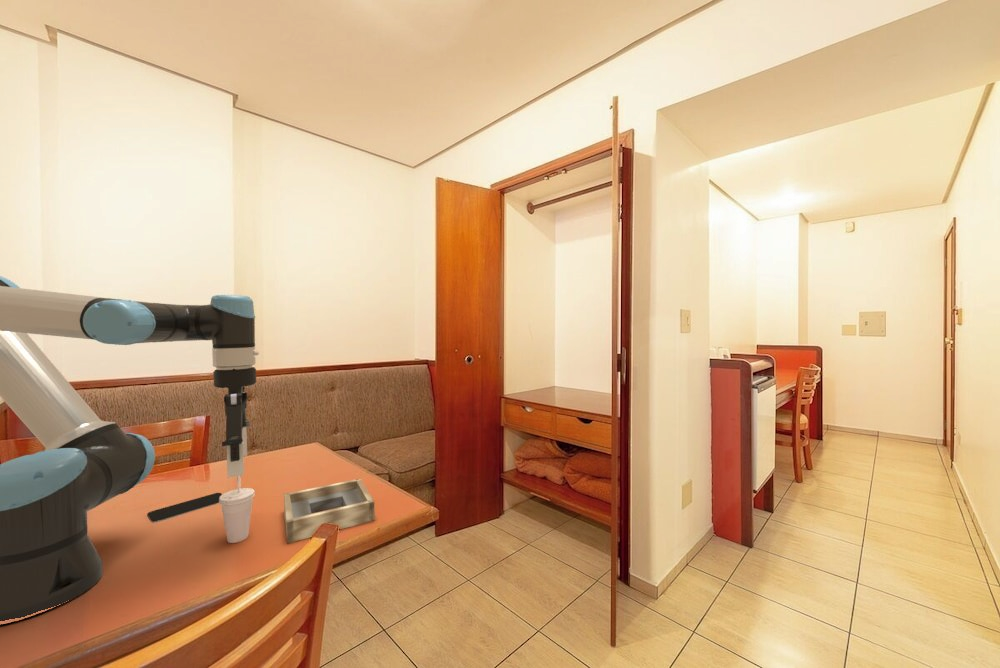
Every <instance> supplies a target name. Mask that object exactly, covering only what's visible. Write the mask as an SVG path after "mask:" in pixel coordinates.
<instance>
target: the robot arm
mask: <svg viewBox="0 0 1000 668" xmlns="http://www.w3.org/2000/svg"><path fill="white" fill-rule="evenodd" d="M255 320H256V316H255V309H254V301H253V299H252V298H251V297H250V296H247V295H241V294H240V295H239V294H216V295H213V296H211V298H210V303H209V304H201V305H198V304H173V303H172V304H171V303H161V302H160V303H159V302H146V301H136V300H130V299H129V300H128V299H123V298H122V299H120V298H117V299H116V298H109V297H108V298H107V297H99V296H92V295H82V294H75V293H74V294H73V293H64V292H57V291H46V290H41V289H40V290H38V289H31V288H21V287H20V286H18V285H17V284H16V283H15V282H13V281H11V280H10V279H8V278H6V277H4V276H1V275H0V398H1V399H2V400H3V401H4V403H5V404H6V405H7V406H8V407H9V408H10V409H11V410H12V412H13V413H14V414H15V415H16V416H17V417H18V418H19V420H20V421H22V423H23V424H24V425H25V426H26V427H27V429H28V430H29V431H30V432H31V433H32V434H33V435H34V436H35V438H36V439H37V440H38V441H39V442H40V443H41V444H42V445H43V447H44V448H45V449H44V450H42V451H38V452H36V453H33V454H25V455H22V456H18V457H15V458H13V459H10V460H7V461H5V462H3V463H0V621H5V620H9V619H15V618H21V617H25V616H27V615H31V614H33V613H36V612H38V611H41V610H45V609H48V608H51V607H54V606H57V605H59V604H62V603H64V602H66V601H68V600H70V601H72V600H74V599H76V598H78V597H79V596H81V595H82V594H84V593H85V592H87V591H89V590H90V589H91V588H93V587H94V586H95V585H96V584H97V583H98V582H99V581H100V579H101V578H102V576H103V574H104V573H103V571H104V570H103V561H102V558H101V556H100V555H99V553H98V551H97V549H96V547H95V546H94V543H93V542H92V540H91V539H90V537H89V534H88V533H89V531H88V512H89V511H91V510H92V509H94V508H97V507H99V506H100V505H102V504H104V503H106V502H108V501H109V500H111V499H113V498H115V497H117V496H119V495H123V494H125V493H127V492H129V491H130V490H132V489H133V488H134V487H135V486H137V485H139V484H141V483H142V482H143V481H145V479H146V478H147V477H148V476H149V475H150V473H151V472H152V471H153V467H154V464H155V460H156V452H155V448H154V446H153V444H152V442H151V441H150V440H149V439H148V438H146V437H145V436H144V435H141V434H139V433H138V434H137V433H131V432H127V433H126V432H125V431H123V429H122V428H121V427H120V426H119V424H118V423H116V422H115V421H104V420H101V418H99V416H98V415H97V414H96V413H95V411H93V409H92V408H91V407H90V405H88V403H87V402H86V401H85V400H84V398H82V396H81V395H80V394H79V393H78V391H77V390H76V389H75V388H74V387H73V386H72V384H71V383H70V382H69V381H68V380H67V379H66V378H65V376H64V375H63V374H62V373H61V372H60V370H59V369H58V368H57V367H56V366H55V365H54V363H53V362H52V361H51V360H50V358H48V356H47V355H46V354H45V353H44V352H43V350H41V348H40V347H39V346H38V345H37V343H36V342H35V341H34V340H33V339H32V337H30V336H29V334H30V335H41V336H53V337H62V338H63V337H65V338H74V339H76V338H77V339H83V340H93V341H97V342H99V343H101V344H107V345H115V346H118V345H119V346H120V345H121V346H122V345H123V346H129V345H130V346H131V345H134V344H145V343H146V344H147V343H148V344H149V343H167V342H168V343H169V342H192V341H194V342H195V341H211V342H212V348H211V351H212V354H211V355H212V367H214V368H216V369H214V371H213V374H212V375H213V386H214V387H215V388H217V389H226V388H227V390H228V391H227V393H228V394H225V395H223V403H224V414H225V418H226V420H225V440H224V441H221V446H222V447H226V472H227V478H233V477H234V478H236V477H237V476H240V477H241V476H244V475H245V463H244V461H245V457H247V456H248V444H247V443H248V440H247V439H248V437H247V427H250V421H247V415H246V414H247V413H246V412H247V411H246V409H247V408H248V407H247V404H248V403H247V402H248V392H245V390H246V387H250V386H253V385H255V384H256V383H257V368H256V367H253V366H254V365H256V356H259V355H260V353H259V351H258V350H256V338H255V337H256V335H255V334H256V333H255V332H256V331H255V330H256V328H255V327H256V325H255V324H256V323H255ZM77 596H78V597H77ZM73 598H74V599H73ZM71 599H72V600H71ZM68 602H69V601H68ZM64 604H65V603H64ZM62 605H63V604H62Z"/></svg>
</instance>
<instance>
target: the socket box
mask: <svg viewBox="0 0 1000 668" xmlns="http://www.w3.org/2000/svg"><path fill="white" fill-rule="evenodd" d="M283 504H284V505H283V507H284V508H283V509H284V510H283V511H284V512H283V513H284V522H285V535H286V544H291V543H294V542H297V541H298V542H299V541H302V540H306V539H310V538H313V537H312V535H313V534H314V532H315V531H316V530H317V528H318V527H319V526H320V525H321V524H323V523H332V524H337V525H339V528H340V530H343V529H347V528H351V527H355V526H359V525H362V524H363V525H364V524H366V523H370V522H373V521H375V501H374V499H373V497H372V496H371V494H370V492H369V491H368V489H367V487H366V486H365V484H364V483H363V481H362V479H361V478H355V479H350V480H346V481H342V482H337V483H331V484H326V485H322V486H317V487H312V488H307V489H302V490H297V491H291V492H287V493H284V494H283Z"/></svg>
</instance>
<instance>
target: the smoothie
mask: <svg viewBox="0 0 1000 668" xmlns="http://www.w3.org/2000/svg"><path fill="white" fill-rule="evenodd" d="M236 478H237V488H235V489H231V490H229V491H226V492H224V493H222V495H221V496H220V497H219V503H218V504H219V505H220V506H221V513H222V518H223V522H224V528H225V535H226V540H227V542H228V543H229V544H230V543H231V544H235V543H240V542H242V541H245V540H246V539H248V537H249V532H250V523H251V516H252V507H253V499H254V497H255V495H256V494H255V489H253V488H250V487H243V488H242V487H241V483H242V480H241V476H236Z"/></svg>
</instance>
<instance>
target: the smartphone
mask: <svg viewBox="0 0 1000 668" xmlns="http://www.w3.org/2000/svg"><path fill="white" fill-rule="evenodd" d="M221 495H223V493H221V492H214V493H212V494H208V495H204V496H200V497H197V498H194V499H190V500H187V501H183V502H179V503H176V504H172V505H169V506H165V507H162V508H158V509H155V510H152V511H149V512H147V514H146V515H147V517H148V519H149V521H150V522H151V523H159V522H162V521H165V520H169V519H172V518H175V517H178V516H182V515H185V514H188V513H191V512H194V511H197V510H201V509H205V508H209V507H211V506H215V505H218V504H219V497H220V496H221Z"/></svg>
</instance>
